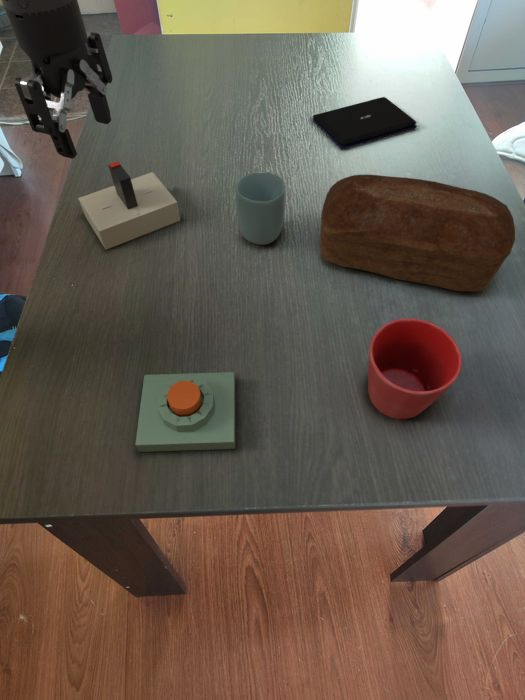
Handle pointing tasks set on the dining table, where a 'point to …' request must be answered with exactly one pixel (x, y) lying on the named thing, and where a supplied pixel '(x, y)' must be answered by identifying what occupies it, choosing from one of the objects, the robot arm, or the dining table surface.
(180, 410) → the power button
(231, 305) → the dining table surface
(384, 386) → the flower pot
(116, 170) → the knob
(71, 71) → the robot arm
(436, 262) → the bread
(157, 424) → the block
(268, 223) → the cup
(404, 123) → the laptop
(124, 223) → the panel
